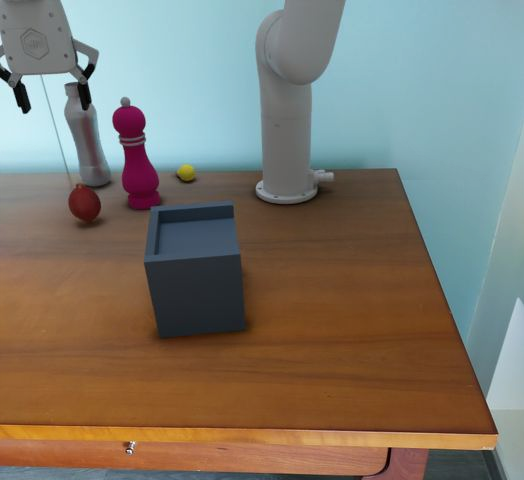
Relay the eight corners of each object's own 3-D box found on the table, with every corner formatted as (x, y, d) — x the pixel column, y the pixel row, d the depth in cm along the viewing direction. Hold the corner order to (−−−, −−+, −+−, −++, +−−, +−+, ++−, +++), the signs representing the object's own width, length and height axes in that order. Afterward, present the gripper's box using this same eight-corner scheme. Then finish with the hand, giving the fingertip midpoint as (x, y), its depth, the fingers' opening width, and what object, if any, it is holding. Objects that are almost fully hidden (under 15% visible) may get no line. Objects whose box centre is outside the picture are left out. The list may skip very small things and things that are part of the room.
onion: (77, 216, 103) (66, 176, 98) (107, 214, 103) (97, 174, 98) (71, 230, 98) (59, 189, 93) (102, 228, 99) (92, 187, 93)
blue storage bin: (238, 270, 85) (232, 200, 78) (245, 330, 73) (240, 253, 65) (163, 276, 85) (151, 206, 77) (159, 338, 72) (143, 262, 65)
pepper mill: (166, 195, 109) (149, 91, 96) (157, 211, 103) (138, 102, 91) (132, 195, 110) (111, 91, 97) (122, 210, 104) (98, 103, 91)
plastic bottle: (86, 192, 112) (60, 90, 99) (79, 181, 116) (53, 83, 104) (116, 185, 114) (94, 85, 101) (108, 175, 119) (86, 78, 106)
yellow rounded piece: (190, 184, 113) (181, 169, 111) (175, 184, 117) (167, 170, 115) (200, 175, 114) (192, 160, 112) (186, 175, 118) (177, 161, 116)
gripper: (-46, -9, 73) (-3, 119, 84) (80, -14, 74) (106, 113, 85) (-28, -15, 79) (9, 106, 90) (88, -19, 80) (112, 101, 91)
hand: (57, 110), depth 88 cm, fingers open, 9 cm apart
